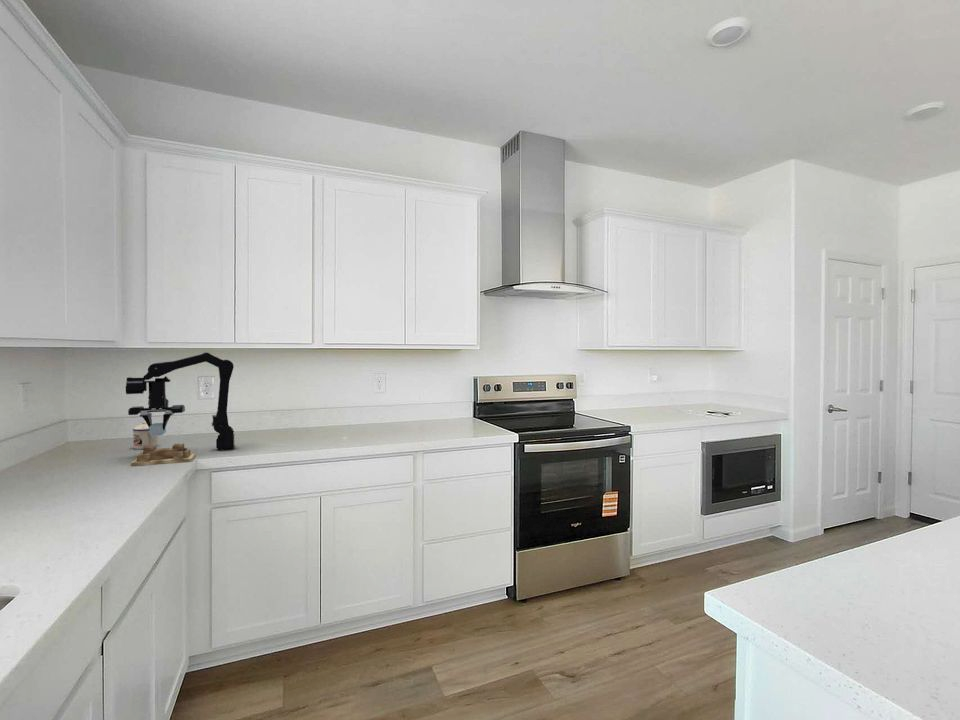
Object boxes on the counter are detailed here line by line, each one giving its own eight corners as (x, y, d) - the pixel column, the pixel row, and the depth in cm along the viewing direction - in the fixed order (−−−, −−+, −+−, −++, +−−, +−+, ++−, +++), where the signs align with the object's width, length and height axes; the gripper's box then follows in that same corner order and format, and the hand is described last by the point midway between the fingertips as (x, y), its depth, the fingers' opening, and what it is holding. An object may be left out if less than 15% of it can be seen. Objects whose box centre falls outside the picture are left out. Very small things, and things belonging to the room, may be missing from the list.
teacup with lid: (128, 448, 207) (128, 422, 207) (151, 444, 215) (150, 419, 215) (142, 451, 201) (142, 424, 201) (165, 447, 209) (164, 421, 209)
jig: (195, 456, 193) (195, 446, 193) (191, 461, 184) (191, 451, 184) (137, 460, 185) (137, 450, 185) (130, 466, 177) (130, 455, 177)
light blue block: (165, 432, 198) (165, 422, 198) (161, 435, 191) (161, 425, 191) (154, 432, 196) (154, 423, 196) (149, 436, 189) (149, 426, 189)
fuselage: (184, 455, 189) (184, 443, 189) (182, 457, 185) (182, 445, 185) (146, 458, 184) (145, 445, 184) (143, 460, 181) (142, 447, 180)
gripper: (187, 390, 204) (187, 425, 204) (136, 391, 197) (136, 428, 197) (181, 393, 193) (182, 430, 194) (127, 394, 186) (128, 433, 187)
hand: (157, 430), depth 193 cm, fingers closed on light blue block, 4 cm apart
